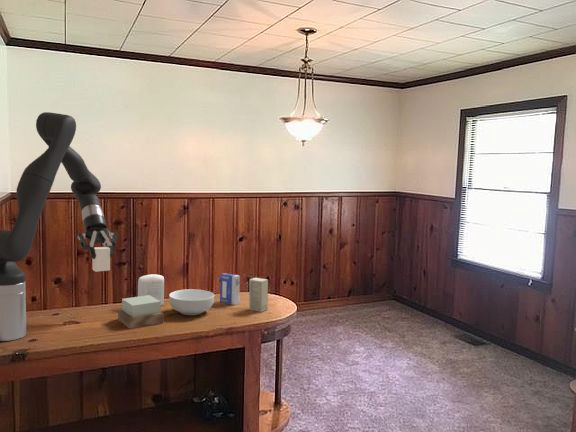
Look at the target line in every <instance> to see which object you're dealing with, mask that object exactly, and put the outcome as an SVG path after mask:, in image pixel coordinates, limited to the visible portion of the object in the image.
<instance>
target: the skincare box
mask: <svg viewBox="0 0 576 432" xmlns="http://www.w3.org/2000/svg"><path fill="white" fill-rule="evenodd" d="M268 280H269V279H267V278H263V277H262V278H261V277H253V278H249V280H248V281H249V285H248V286H249V288H248V289H249V293H248V294H249V296H248V297H249V299H248V300H249V301H248V302H249V304H248V305H249V306H248V308H249V310H251V311H256V312H260V313H261V312H264V311H267V310H268V309H269V307H268V301H269V299H268V294H269V289H268V286H269V281H268Z"/></svg>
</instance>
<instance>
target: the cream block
mask: <svg viewBox="0 0 576 432" xmlns="http://www.w3.org/2000/svg"><path fill="white" fill-rule="evenodd" d="M93 247H94V246H93ZM94 249H95V254H96V258H95V259H93V258H91V259H92V263H91V264H92V267H91V268H92V270H93V271H94V272H96V273H98V272H107V271H111V258H110V248H108V247H106V246H98V247H97V246H96V247H94Z"/></svg>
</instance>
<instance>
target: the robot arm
mask: <svg viewBox="0 0 576 432" xmlns="http://www.w3.org/2000/svg"><path fill="white" fill-rule="evenodd" d="M35 128H36V132H37V134H38V136H40V138H41V139H42V141H44V143H45V144H46V145H47V147H48V148H47V149H46V150H45V151H44V152H43V153H42V154H40V155H39V156H38V157H36V159H34V160H33V161H32V162H31V163H29V164H28V165H27V166H26V167H25V168H24V169H23V172H22V174H21V176H20V179H19V181H18V183H17V186H16V202H17V209H18V210H17V217H16V219H15V221H14V225H13V226H12V229H11V230H8V229H7V230H6V229H0V342H5V341H6V342H8V341H9V342H10V341H15V340H18V339H19V340H20V339H21V338H24V337H26V335H27V305H26V303H27V299H26V297H27V296H26V294H27V293H26V292H27V291H26V287H27V286H26V273H25V271H23V270H22V269H21V268H20V267H19V266H18V265H17V263H18V262H21V261H23V260H24V259H26V258H27V257H28V255H29V253H30V251H31V249H32V247H33V243H34V240H35V239H34V238H35V234H36V231H37V227H38V224H39V220H40V218H41V215H42V212H43V210H44V207H45V204H46V202H47V199H48V197H49V195H50V193H51V189H52V187H53V184H54V181H55V178H56V175H57V173H58V170H59V169H60V166H61V164H62V166H63V168H64V169H65V171H66V173H67V175H68V177H69V178H70V180H71V181H73V182H72V183H71V184H70V190H71V192H72V194H73V195H74V197H75V198H76V200H77V202H78V203H79V207H80V210H81V219H82V220H81V221H82V222H83V223H82V224H83V228H84V233H82V232H78V234H77V241H78V242H79V244H80V246H81V248H82V249H83V251H88V252H89V256H90V258H91V259H92V258H93V259H95V258H96V254H95V249H94V245H95V244H102V245H103V247H108V248H110V259H111V258H112V257H113V256H114V249H116V247H117V243H118V232H117V231H113V232H110V231H109V229H108V226H107V223H106V219H105V215H104V211H103V209H102V206H101V201H100V199H99V197H98V196H97V195H95V194H98V193H99V192H100V191H101V189H102V185H101V181H100V180H99V179H98V178H97V176H96V175H95V174H93V173H92V172H91V171H90V169H88V166H87V165H86V163H85V161H84V159H83V157H82V155H80V154H79V153H78V152H77V151H76V150H75V149H74V148H73V147H71V146H70V145H71V144H72V142H73V139H74V138H75V134H76V131H77V122H76V119H75V118H74V117H73V116H72V115H68V114H63V113H58V112H57V113H56V112H49V111H48V112H46V111H44V112H42V113H40V114H39V115H38V116H37V118H36V122H35ZM109 237H110V238H109ZM86 239H88V241H89V244H88V242H87V241H86ZM110 239H111V240H112V241H111V240H110Z"/></svg>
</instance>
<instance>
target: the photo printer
mask: <svg viewBox="0 0 576 432" xmlns="http://www.w3.org/2000/svg"><path fill="white" fill-rule="evenodd" d="M146 295H150V296H152V297H154V298H155V299H157V300H159V301H161V306H163V305H165V304H164V302H165V299H164V298H165V278H164V275H160V274H155V273H153V274H146V275H142V276H140V277H139V278H138V281H137V297H139V296H146Z"/></svg>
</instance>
